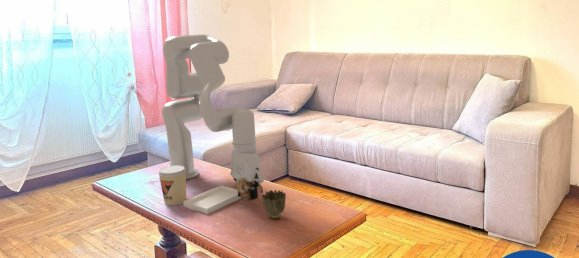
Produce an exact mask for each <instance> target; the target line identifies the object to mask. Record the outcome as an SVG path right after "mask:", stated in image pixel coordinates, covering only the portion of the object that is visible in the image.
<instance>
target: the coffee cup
mask: <svg viewBox="0 0 579 258" xmlns="http://www.w3.org/2000/svg"><path fill="white" fill-rule="evenodd" d="M185 172H186V169H185V168H184V167H183V166H179V165H173V166H168V165H167V166H164V167H162V168H160V169H159V170H158V175H159V181H160V187H161V191H162V192H161V193H162V196H163V201H164V204H165V205H168V206H177V205H181V204H183V201H185V200H187V179H186V174H185Z"/></svg>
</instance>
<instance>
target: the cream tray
mask: <svg viewBox="0 0 579 258" xmlns="http://www.w3.org/2000/svg"><path fill="white" fill-rule="evenodd" d="M243 196H244V197H246V194H245V195H243ZM240 199H241V197H239V196H238V191H237V188H236V189H235V188H232V187H230V186H224V185H219V186H216V187H214V188H212V189H209V190H207V191H204V192H202V193H200V194H196V196H193V197H190V198H187V199H186V200H185V201H183V203H182V204H183V208H186V209H190V210H193V211H195V212H199V213H201V214H205V215H209V214H212V213H213V212H216V211H218V210H219V209H222V208H224V207H225V206H228V205H230V204H232V203H234V202H236V201H240Z"/></svg>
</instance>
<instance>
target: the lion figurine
mask: <svg viewBox="0 0 579 258" xmlns="http://www.w3.org/2000/svg"><path fill="white" fill-rule="evenodd" d="M257 181H258V179H257ZM253 184H255V183H254V181H253ZM236 189H237V191H238V192H239V193H240V195H241V199H239V201H240V202H243V201H244V200H245V198H244V196H243V195H245V196H246V199H247V200H246V201H247V202H252V200H250V189H251V187H250V183H249V182H246V181H245V179H243V178H241V179H239V180H238V182H237V185H236ZM257 190H260V191H259V193H260V194H264V190H263V186H262V183H261V184H260V185H259V187H257Z"/></svg>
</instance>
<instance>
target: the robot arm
mask: <svg viewBox="0 0 579 258" xmlns="http://www.w3.org/2000/svg"><path fill="white" fill-rule="evenodd" d="M162 52H163V58H164V61H165V65H166V67H165V75H166V76H165V91H166V94H167V97H168V98H169V99H171V100H172V101H168V102H166V103H165V104H164V105H163V106H162V108H161V115H162V118H163V123H164V126H165V131H166V137H167V145H168V156H169V162H170V163H169V165H167V166H173V165H179V166H183V167H184V168H185V169H186V172H185V174H186V180H188V179H189V180H190V179H192V178H196V177H197V176H198V175H199V174H200V173H199V170H198V169H197V168H195V160H194V151H193V142H192V133H191V131H190V130H189V129H188V127H187V126H186V125H185V124H186V123H191V122H196V121H199V120H201V119H203V121H204V124H205V125H206V127H207V129H208V130H209V131H211V132H214V133H219V132H224V131H227V130H232V131H231V132H232V143H231V144H232V145H233V146H232V147H233V149H232V150H231V156H230V173H229V174H230V176H231V177H232V178H233V180H234V181H235V186H237V182H238V180H239V179H241V178H243V179H245V181H246V182H249V183H250V187H251V189H250V200H251V201H254V200H255V199H258V198H259V197H258V196H259V194H258V187H259V185H260V184H261V185H262V184H263V182H264V181H265V180H264V178H263V176H262V175H261V173H262V172H261V163H260V158H259V153H258V150H257V143H256V141H257V139H256V126H255V125H256V123H255V113H254V111H252V110H250V109H244V108H243V107H241V106H239V105H234V106H227V107H220V108H216V109H215V108H214V106H213V104H212V101H211V94H212V93H213V92H214V91H216V90H217V89H218V88H220V87H221V86H222V85H224V83H225V81H226V76H225V74H224V72H223V70H222V68H221V66H220V65H224V64H226V63H228V60H229V58H230V51H229V49H228V47H227V45H226V44H225V43H224V42H223V41H222V40H220V39H217V38H215V37H213V36H210V35H209V34H208V35H207V34H188V35H187V34H185V35H176V36H174V35H173V36H170V37H167V38H166V39H165V40H164V42H163V45H162ZM187 59H190V61H191V63H192V66H193V67H194V70H195V72H189V71H190V70H189V68H190V67H189V62H188V60H187ZM257 179H258V181H257ZM253 181H254V183H255V184H253ZM238 196H239V197H241V195H240V193H239V192H238Z"/></svg>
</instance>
